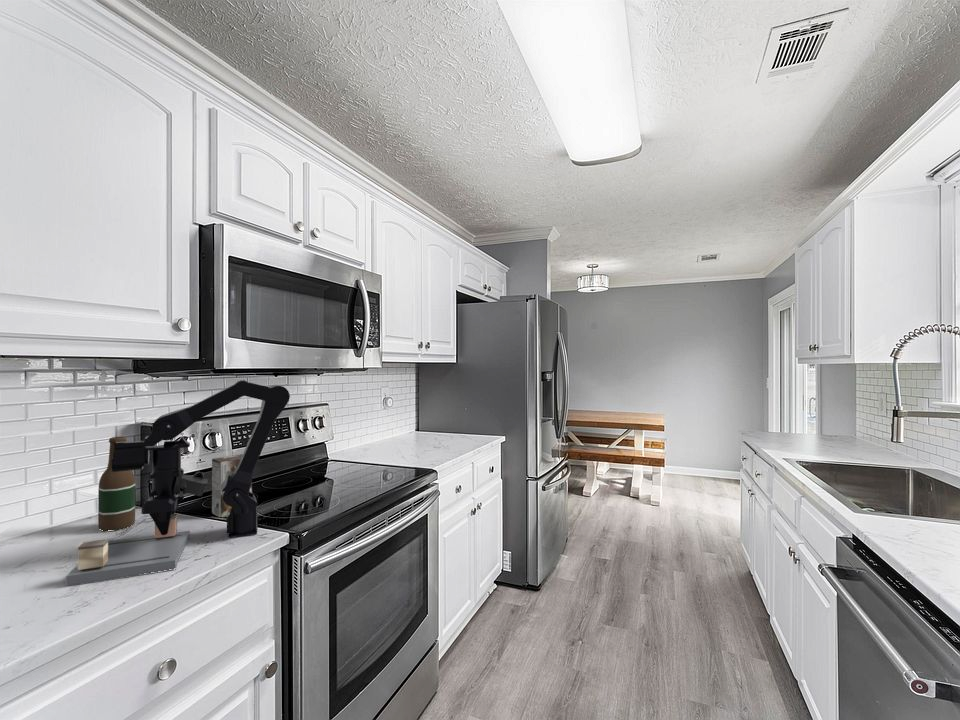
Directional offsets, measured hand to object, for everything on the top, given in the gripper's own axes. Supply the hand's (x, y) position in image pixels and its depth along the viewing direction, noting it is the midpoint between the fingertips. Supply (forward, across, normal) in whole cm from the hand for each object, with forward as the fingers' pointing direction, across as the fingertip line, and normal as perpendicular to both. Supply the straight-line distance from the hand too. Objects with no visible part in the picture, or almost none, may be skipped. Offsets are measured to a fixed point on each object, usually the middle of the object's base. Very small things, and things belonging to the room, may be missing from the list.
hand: (166, 532), depth 111 cm
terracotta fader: (+1, 0, 0) cm, 1 cm away
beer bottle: (+3, +20, +14) cm, 25 cm away
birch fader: (+1, -14, +10) cm, 17 cm away
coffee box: (+3, +22, -12) cm, 26 cm away
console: (+3, -7, +4) cm, 9 cm away
